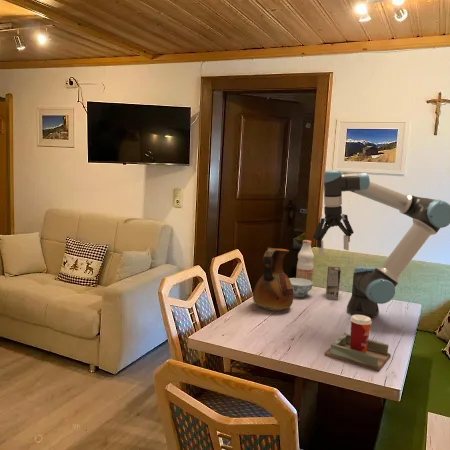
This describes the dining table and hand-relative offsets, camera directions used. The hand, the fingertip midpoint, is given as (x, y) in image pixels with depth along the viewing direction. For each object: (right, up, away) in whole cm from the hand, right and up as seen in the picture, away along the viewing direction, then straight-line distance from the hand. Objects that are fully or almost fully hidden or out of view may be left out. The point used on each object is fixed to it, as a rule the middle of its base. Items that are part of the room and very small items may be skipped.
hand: (333, 252), depth 197 cm
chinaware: (-9, -26, +42) cm, 50 cm away
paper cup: (+1, -36, -32) cm, 49 cm away
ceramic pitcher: (-26, -29, +19) cm, 43 cm away
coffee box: (+9, -27, +41) cm, 50 cm away
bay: (+1, -37, -32) cm, 49 cm away
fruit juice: (-4, -25, +56) cm, 61 cm away
